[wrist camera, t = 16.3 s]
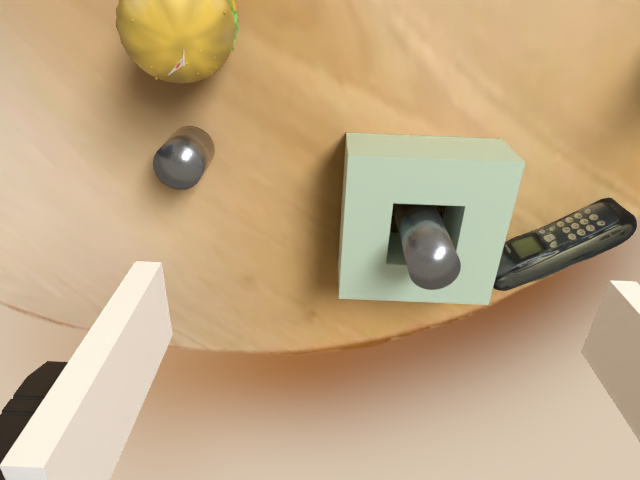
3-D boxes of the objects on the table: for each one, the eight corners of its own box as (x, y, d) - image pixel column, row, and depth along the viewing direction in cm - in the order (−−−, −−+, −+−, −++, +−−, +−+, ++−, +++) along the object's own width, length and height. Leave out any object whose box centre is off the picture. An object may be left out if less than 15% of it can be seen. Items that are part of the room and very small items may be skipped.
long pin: (390, 224, 48) (405, 288, 38) (395, 186, 46) (411, 245, 36) (430, 225, 48) (456, 290, 38) (437, 188, 46) (465, 247, 36)
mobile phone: (636, 211, 41) (475, 288, 45) (645, 237, 43) (487, 310, 46) (606, 189, 46) (461, 261, 50) (615, 213, 47) (473, 282, 51)
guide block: (337, 264, 50) (338, 298, 45) (346, 132, 43) (348, 155, 38) (472, 269, 50) (488, 304, 45) (502, 138, 43) (525, 162, 38)
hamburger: (205, -60, 36) (154, -70, 26) (269, 23, 39) (246, 43, 28) (138, 11, 39) (67, 28, 28) (202, 84, 41) (159, 123, 31)
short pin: (173, 167, 45) (156, 188, 41) (168, 125, 43) (150, 142, 39) (216, 168, 45) (203, 190, 41) (212, 127, 43) (199, 145, 39)
